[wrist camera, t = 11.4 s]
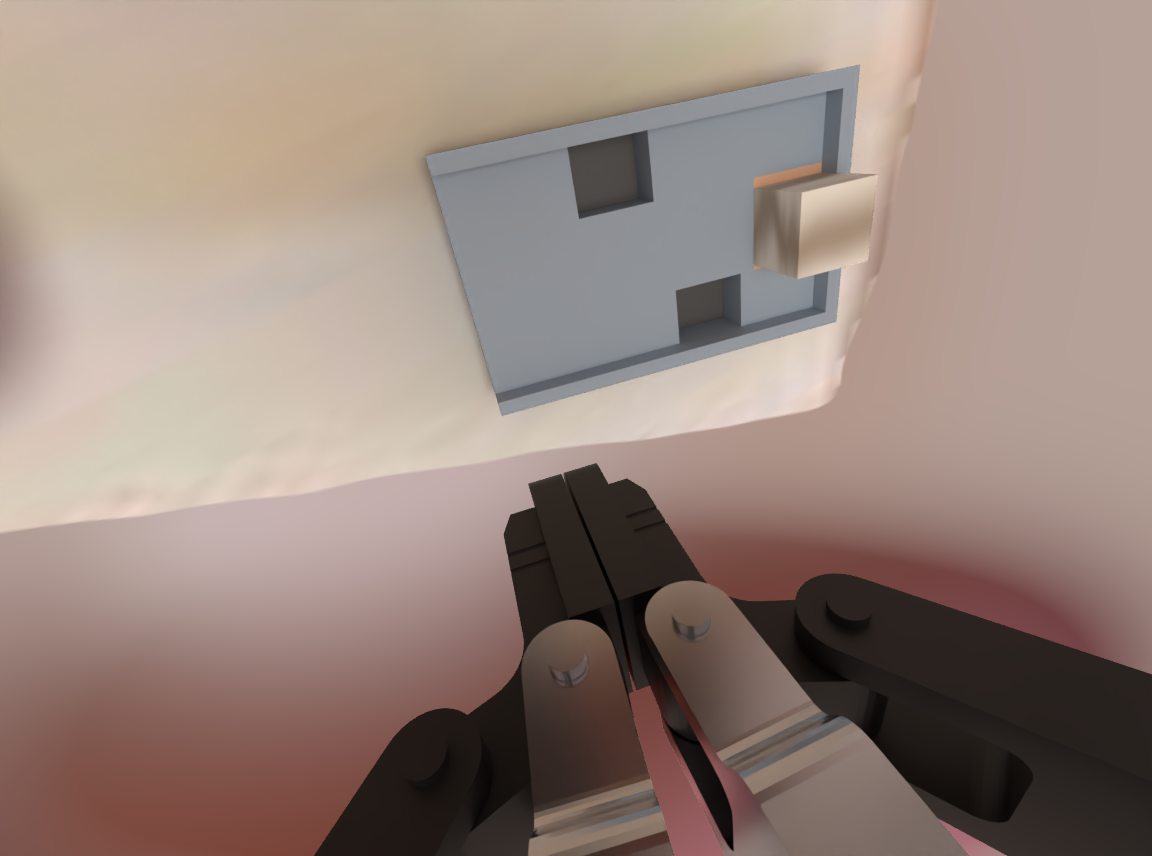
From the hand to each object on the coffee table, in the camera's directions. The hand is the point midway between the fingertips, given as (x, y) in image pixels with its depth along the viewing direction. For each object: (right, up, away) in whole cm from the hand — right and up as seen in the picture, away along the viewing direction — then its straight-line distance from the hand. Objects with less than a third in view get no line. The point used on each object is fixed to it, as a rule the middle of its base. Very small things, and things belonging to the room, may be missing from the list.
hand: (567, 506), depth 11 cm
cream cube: (+15, +16, +24) cm, 32 cm away
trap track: (+5, +15, +25) cm, 30 cm away
